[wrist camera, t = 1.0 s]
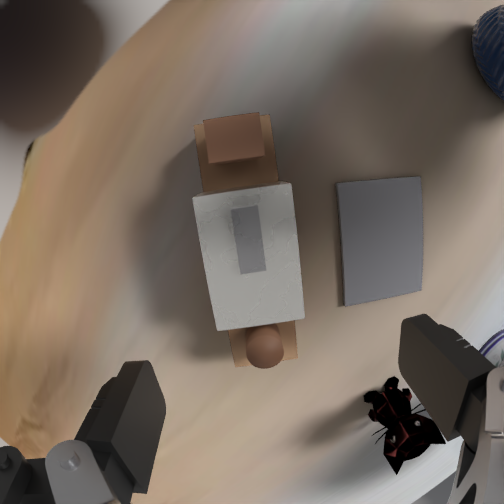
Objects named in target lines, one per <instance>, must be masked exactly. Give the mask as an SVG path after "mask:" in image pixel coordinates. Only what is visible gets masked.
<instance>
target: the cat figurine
mask: <svg viewBox="0 0 504 504" xmlns="http://www.w3.org/2000/svg"><path fill="white" fill-rule="evenodd" d="M398 382H399V379H398V378H396V377H395V376H394V377H391V378H389V379H388V380H387V382H386V383H385V385H384V387H385V392H383V393H382V394H380V393H379V392H377V391H368V392H367V393H366V394H365V395H364V402H367V403H371V404H373V410H374V411H373V410H372V409H370V411H369V413H368V416H369V417H370V419H371V420H372V421H374V422H379V423H381V424H382V425H383V426H385V427H384V428H388V430H387V431H386V432H385V433H386V435H385V442H384V453H383V454H384V456H385V457H386V459H387V460H388V462H389V464H390V465H391V467H392V468H393V470H394V472H395V473H396V475H397V474H398V472H399V470H400V468H401V466H402V464H403V462H404V461H406V460H410V459H413V458H416V457H418V456H420V455H421V454H422V453H423V452H424V451H425V450H426V449H427V448H428V447H429V446H430V444H446V442H445V440H444V438H443V436H442V434H441V432H440V430H439V429H438V427H437V425H436V424H435V422H434V421H433V420H431V419H429V418H426V417H424V416H421V415H419V414H416V413H419V412H422V411H425V410H426V409H424V410H422V411H419V412H416V413H413V414H411V411H413V410H414V409H415V408H417V407H418V406H419V405H421V404H422V403H421V404H419V405H418V406H416V407H415V408H414V409H412V410H411V405H410V400H411V398H412V395H411V392H410V390H409V388H405V389H402V391H403V392H402V391H401V390H399V389H398V388H397V387H398ZM384 428H382V429H381V430H383V429H384ZM381 430H379V431H381ZM379 431H377V432H379ZM377 432H375V433H374V434H376V433H377ZM385 433H384V434H385ZM374 434H373V435H374ZM384 434H383V435H384ZM373 435H372V436H373ZM383 435H382V436H383ZM382 436H381V437H382ZM381 437H380V438H381ZM380 438H379V439H380ZM379 439H378V440H379ZM378 440H377V441H378ZM376 443H377V442H376ZM376 443H375V444H376Z"/></svg>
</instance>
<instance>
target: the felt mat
mask: <svg viewBox="0 0 504 504" xmlns="http://www.w3.org/2000/svg"><path fill="white" fill-rule="evenodd" d="M335 184H336V193H337V204H338V215H339V227H340V241H341V256H342V275H343V302H344V305H345V307H346V306H351V305H356V304H361V303H366V302H371V301H376V300H381V299H385V298H390V297H395V296H399V295H404V294H408V293H413V292H417V291H421V290H422V272H423V206H422V187H421V177H420V176H415V177H400V178H387V179H375V180H363V181H352V182H342V183H335Z"/></svg>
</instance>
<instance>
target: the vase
mask: <svg viewBox="0 0 504 504" xmlns="http://www.w3.org/2000/svg"><path fill="white" fill-rule="evenodd" d="M479 352H480V353H481V354H482V355H483V356H485V357H486V358H487V359H488V360H489V361H490V362H491V363H492V364H493V365H494V366H496V367H500V366H504V330H501V331H499V332H498V333H496V334H495V335H494V336H493V337H491V338H490V339H489V340H488V341H487V342H486V343H485V344H484V345H483V347H482V348H481V349H480V350H479Z"/></svg>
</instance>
